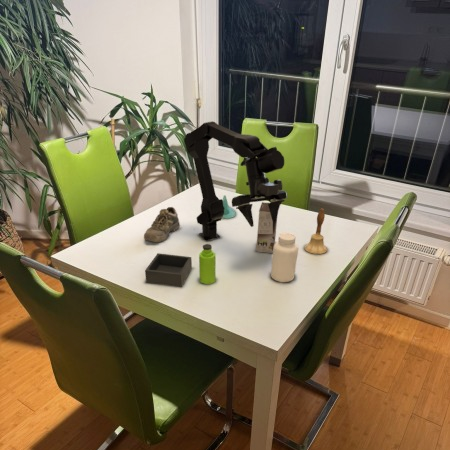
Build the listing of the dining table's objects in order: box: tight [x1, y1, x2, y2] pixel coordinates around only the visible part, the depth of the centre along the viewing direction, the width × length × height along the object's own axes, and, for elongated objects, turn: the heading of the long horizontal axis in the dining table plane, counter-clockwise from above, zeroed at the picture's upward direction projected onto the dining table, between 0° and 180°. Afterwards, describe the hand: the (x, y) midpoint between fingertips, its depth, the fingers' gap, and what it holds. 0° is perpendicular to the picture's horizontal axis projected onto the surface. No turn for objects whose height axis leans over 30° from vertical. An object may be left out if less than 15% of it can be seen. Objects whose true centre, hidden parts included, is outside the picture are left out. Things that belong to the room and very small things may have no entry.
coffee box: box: [255, 201, 278, 254], centre depth 152 cm, size 9×6×16 cm
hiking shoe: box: [143, 206, 181, 243], centre depth 162 cm, size 9×21×12 cm
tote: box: [144, 252, 193, 288], centre depth 137 cm, size 12×12×4 cm
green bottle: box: [198, 243, 216, 285], centre depth 132 cm, size 5×5×12 cm
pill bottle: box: [270, 232, 299, 283], centre depth 134 cm, size 8×8×15 cm
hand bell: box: [304, 207, 328, 255], centre depth 151 cm, size 8×8×16 cm
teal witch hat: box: [221, 195, 236, 220], centre depth 183 cm, size 12×20×9 cm, turn 29°
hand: (263, 224), depth 136 cm, fingers open, 9 cm apart
